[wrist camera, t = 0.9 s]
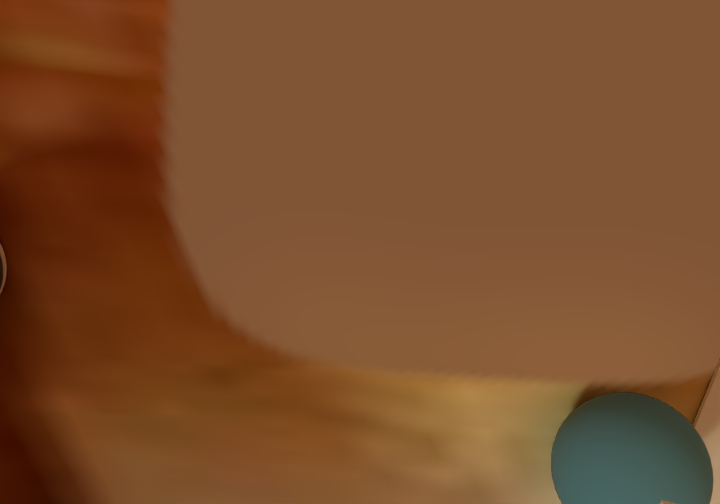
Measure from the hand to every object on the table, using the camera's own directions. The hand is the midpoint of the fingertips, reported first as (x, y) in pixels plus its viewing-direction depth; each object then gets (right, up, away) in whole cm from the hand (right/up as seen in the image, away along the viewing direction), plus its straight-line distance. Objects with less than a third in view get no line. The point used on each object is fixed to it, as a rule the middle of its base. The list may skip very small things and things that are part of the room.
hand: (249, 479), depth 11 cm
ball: (+13, -5, +16) cm, 21 cm away
